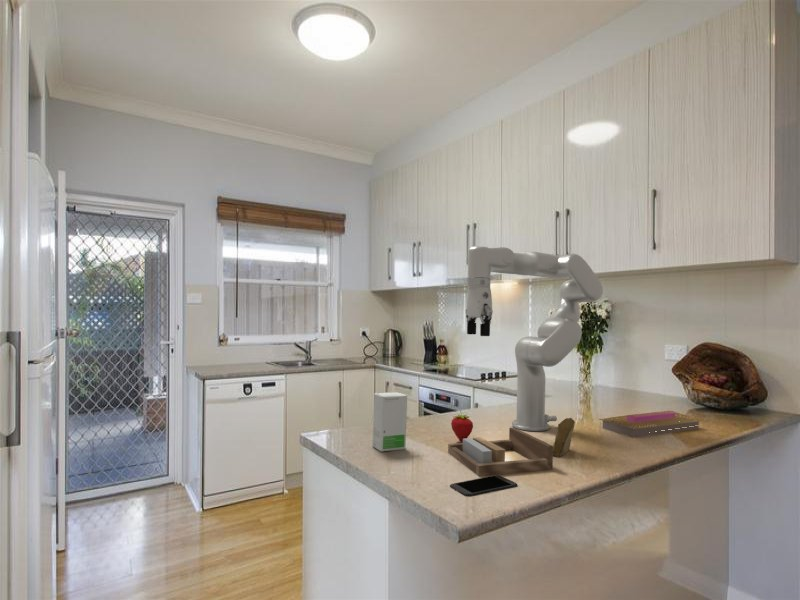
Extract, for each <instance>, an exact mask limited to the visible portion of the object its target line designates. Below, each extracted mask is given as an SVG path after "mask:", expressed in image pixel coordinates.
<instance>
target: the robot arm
mask: <svg viewBox="0 0 800 600" xmlns="http://www.w3.org/2000/svg"><path fill="white" fill-rule="evenodd" d="M467 254H468V255H467V289H468V291H467V300H466V301H467V302H466V309H465V315H466V316H465V318H466V334H467V335H477V322H476V321H477V319H480V321H481V323H480V327H479V328H480V334H479V335H480V337H490V335H491V323H492V317H493V313H494V310H493V297H492V290H491V275H492V273H497V274H507V275H518V276H530V277H540V278H546V279H547V278H548V279H555V280H557V279H559V280H561V279H562V280H563V279H569V280H566V281H564V282H563V283H562V284H561V285H560V287H559V294H558V295H559V305H558V308H556V309H555V311H554V312H553V313H552V314H550V315H549V316H548V317H547V319H545V320H544V321H543V322H542V323H541V324H540V326H539V327H538V329H537V336H524V337H521V338H520V339H519V340H518V341H517V342H516V344H515V347H514V354H515V360H516V361H515V362H516V369H517V370H516V371H517V373H516V374H517V378H516V380H517V381H516V384H517V385H516V419H515V420H512V422H511V426H512V428H513V427H514V428H516V429H518V430H520V431H527V432H544V431H549V429H550V424H549V422H556V421H558V418H557V416H556V415H549V414H546V372H545V369H544V367H548V368H551V367H552V368H553V367H554V366H557V365H558V364H559V363H561V362H562V361H563V360H564V359H565V358H566V357H567V356H568V355H569V354H570V353H571V352H572V351H574V349H575V348H576V347H577V346H578V345H579V343H580V341H581V339H582V335H583V333H582V332H583V331H582V330H583V329H582V327H581V325H580V323H579V321H580V319H581V312H580V311H581V310H580V303H593V302H596V301H598V300H600V299H601V298H602V296H603V294H604V288H603V284H602V282H601V281H600V278H599V277H598V276H597V275H596V273H595V272H594V270H593V269H592V268H591V265H589V264H588V262H587V261H586V260H585V259H584V258H583V256H581V255H579V254H577V253H568V254H561V255H560V254H550V253H545V252H538V251H522V252H514V251H513V250H512V249H511V248H508V247H503V246H502V247H501V246H500V247H488V246H472V247H470V248H469V249H468V252H467Z"/></svg>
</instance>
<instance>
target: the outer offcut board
mask: <svg viewBox="0 0 800 600" xmlns="http://www.w3.org/2000/svg"><path fill="white" fill-rule="evenodd" d="M462 443H463V453H465V454H466V455H468V456H469V457H470V458H472V459H473V460H475V461H476V462H477V463H479V464H481V463H492V451H491V450H489V449H488V448H486V447H485V446H483V445H481V444H480V443H478V442H477V441H475V440H473V438H471V437H468V438H465V439H463V442H462Z"/></svg>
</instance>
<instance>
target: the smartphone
mask: <svg viewBox="0 0 800 600" xmlns="http://www.w3.org/2000/svg"><path fill="white" fill-rule="evenodd" d="M449 487H450V489H452V490H454V491H456V492H457V493H459V494H461V495H462V496H464V497H474V496H478V495H484V494H488V493H493V492H498V491H502V490H507V489H512V488H516V487H518V484H517V482H515V481H513V480H510V479H508V478H506V477H505V476H502V475H501V474H497V475H488V476H483V477H481V478H480V477H479V478H474V479H469V480H464V481H460V482H454V483H451V484H449Z"/></svg>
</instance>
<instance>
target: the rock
mask: <svg viewBox="0 0 800 600" xmlns="http://www.w3.org/2000/svg"><path fill="white" fill-rule="evenodd" d="M575 426H576V421H575V420H574V419H573V418H572V417H566V418H564V419H563V420H561V422H559V423H558V425H557V431H556V434H555V439H554V444H553V445H552V446H553V457H554V456H555V457H557V458H560V457H561V456H563V455H564V454H566V453H567V452H568V451H569V450H570V448H571V445H572V442H571V441H572V437H573V433H574V429H575Z"/></svg>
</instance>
